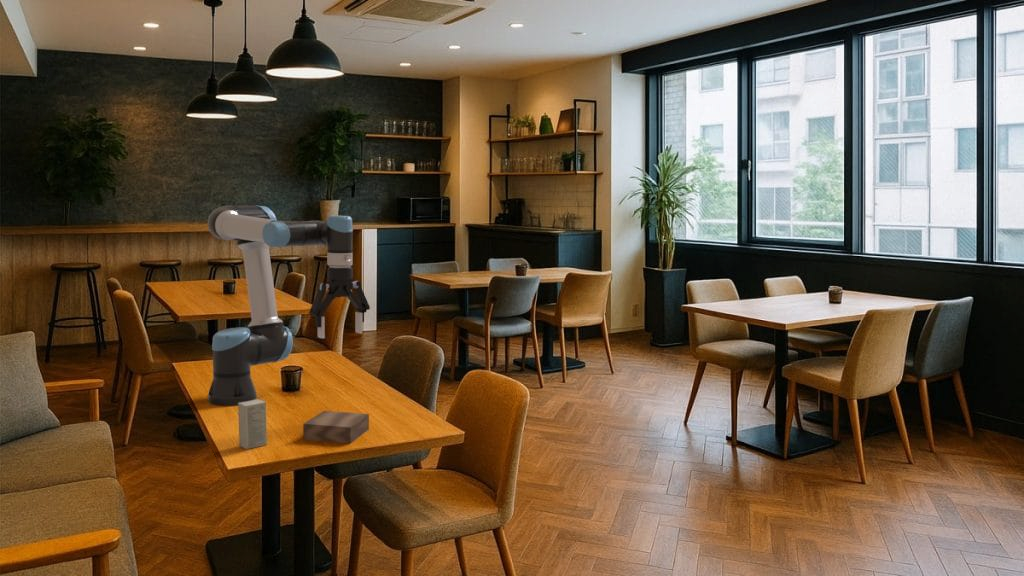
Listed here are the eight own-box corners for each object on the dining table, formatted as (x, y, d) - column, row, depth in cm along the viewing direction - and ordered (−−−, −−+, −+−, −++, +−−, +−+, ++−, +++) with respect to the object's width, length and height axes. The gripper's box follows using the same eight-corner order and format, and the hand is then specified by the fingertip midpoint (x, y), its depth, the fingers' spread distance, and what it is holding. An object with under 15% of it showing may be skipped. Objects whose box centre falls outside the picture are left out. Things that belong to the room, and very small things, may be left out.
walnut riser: (303, 441, 225) (303, 423, 224) (324, 427, 239) (323, 410, 238) (350, 444, 222) (350, 427, 222) (368, 430, 236) (368, 414, 236)
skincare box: (259, 441, 223) (259, 398, 221) (267, 445, 220) (266, 401, 218) (238, 446, 218) (237, 402, 217) (245, 449, 215) (244, 405, 214)
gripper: (310, 269, 233) (311, 341, 236) (381, 265, 251) (380, 332, 253) (297, 267, 239) (297, 338, 241) (366, 263, 256) (366, 329, 259)
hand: (340, 335), depth 247 cm, fingers open, 13 cm apart
